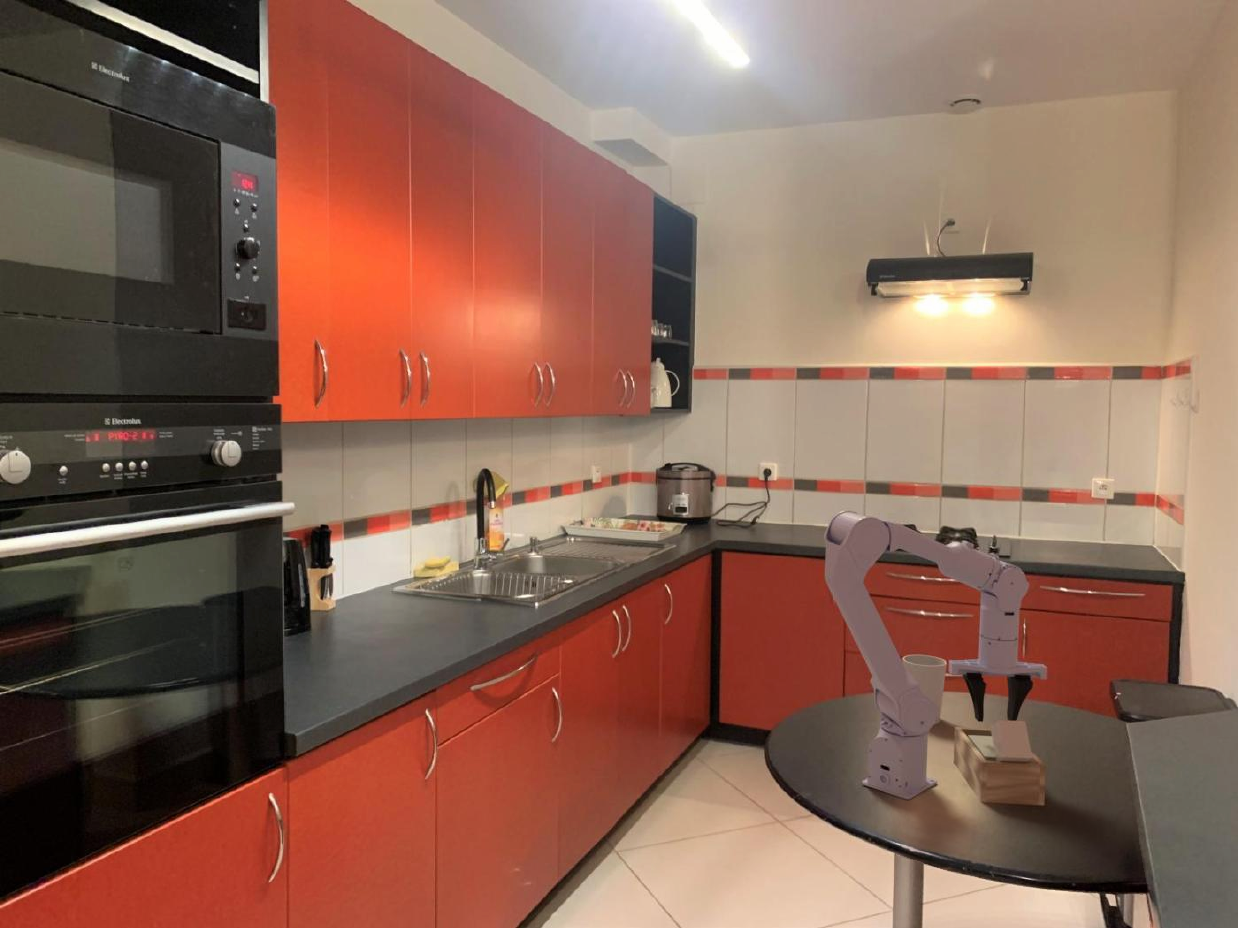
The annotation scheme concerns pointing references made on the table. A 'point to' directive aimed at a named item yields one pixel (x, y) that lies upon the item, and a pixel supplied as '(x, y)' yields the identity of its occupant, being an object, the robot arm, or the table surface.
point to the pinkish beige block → (1011, 741)
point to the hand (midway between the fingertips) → (995, 720)
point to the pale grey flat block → (985, 746)
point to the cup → (928, 676)
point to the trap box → (998, 773)
